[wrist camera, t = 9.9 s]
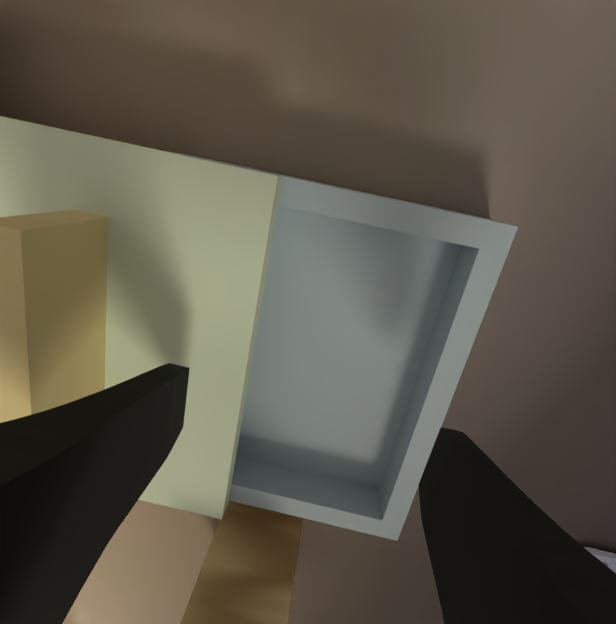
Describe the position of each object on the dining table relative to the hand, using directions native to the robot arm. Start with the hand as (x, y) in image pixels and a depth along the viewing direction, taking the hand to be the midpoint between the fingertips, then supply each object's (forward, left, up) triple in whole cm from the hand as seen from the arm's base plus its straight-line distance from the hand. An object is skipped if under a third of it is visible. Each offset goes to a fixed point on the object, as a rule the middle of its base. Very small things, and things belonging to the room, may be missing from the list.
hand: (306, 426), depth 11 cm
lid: (+7, 0, -2) cm, 7 cm away
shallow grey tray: (+1, 0, -4) cm, 4 cm away
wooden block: (+1, +10, -4) cm, 11 cm away
